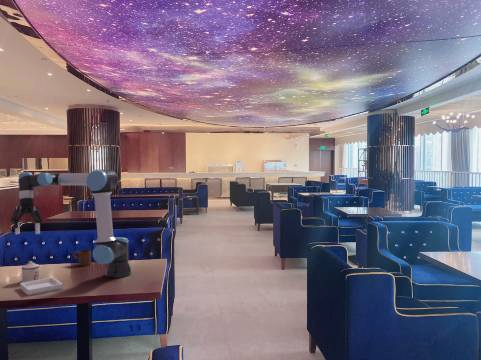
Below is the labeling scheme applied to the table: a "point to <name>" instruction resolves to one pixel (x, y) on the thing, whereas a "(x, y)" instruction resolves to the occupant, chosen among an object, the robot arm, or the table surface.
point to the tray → (41, 286)
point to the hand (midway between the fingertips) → (27, 234)
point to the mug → (83, 257)
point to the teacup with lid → (30, 272)
